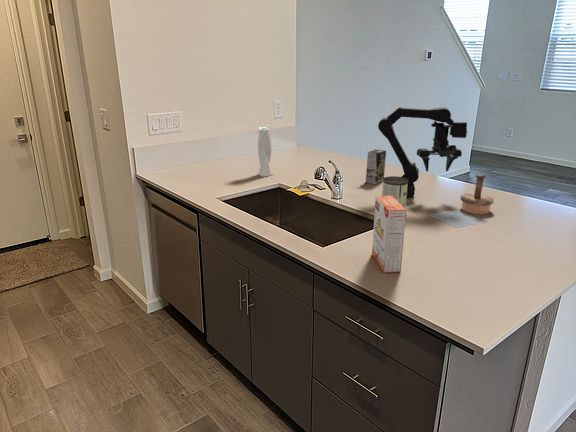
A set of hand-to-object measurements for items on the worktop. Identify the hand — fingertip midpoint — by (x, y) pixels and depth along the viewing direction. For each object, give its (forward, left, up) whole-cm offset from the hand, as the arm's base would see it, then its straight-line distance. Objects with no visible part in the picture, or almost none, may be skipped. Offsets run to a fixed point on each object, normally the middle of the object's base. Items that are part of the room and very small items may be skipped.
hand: (436, 171), depth 205 cm
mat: (-1, -27, -13) cm, 30 cm away
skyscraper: (-77, +46, -14) cm, 91 cm away
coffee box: (-20, +30, -13) cm, 38 cm away
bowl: (+12, -17, -13) cm, 25 cm away
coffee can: (-24, -16, -13) cm, 32 cm away
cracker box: (-41, -65, -13) cm, 78 cm away
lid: (+12, -17, -9) cm, 23 cm away
